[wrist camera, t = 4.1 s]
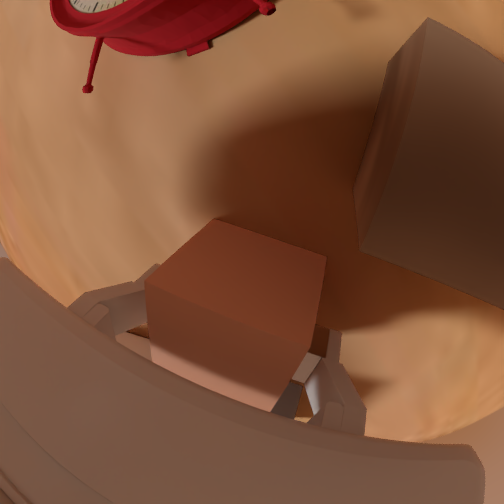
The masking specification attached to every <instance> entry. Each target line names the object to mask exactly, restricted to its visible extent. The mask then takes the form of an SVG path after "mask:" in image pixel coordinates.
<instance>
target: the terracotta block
mask: <svg viewBox="0 0 504 504" xmlns="http://www.w3.org/2000/svg"><path fill="white" fill-rule="evenodd" d="M326 260H327V257H326V256H323V255H320V254H317V253H314V252H311V251H309V250H306V249H303V248H300V247H297V246H294V245H291V244H288V243H285V242H282V241H280V240H277V239H274V238H271V237H268V236H265V235H262V234H259V233H256V232H253V231H250V230H247V229H244V228H241V227H238V226H235V225H232V224H229V223H226V222H223V221H220V220H217V219H213V220H212V221H211V222H209V223H208V224H207V225H206V226H205V227H204V228H202V229H201V230H200V231H199V232H198V233H197V234H195V235H194V236H193V237H192V238H191V239H190V240H189V241H187V242H186V243H185V244H184V245H183V246H182V247H181V248H180V249H178V250H177V251H176V252H175V253H174V254H173V255H172V256H171V257H169V258H168V259H167V260H166V261H165V262H164V263H163V264H162V265H161V266H160V267H158V268H157V269H156V270H155V271H154V272H153V273H152V274H151V275H150V276H149V277H148V278H147V279H145V280H144V286H145V301H146V312H147V323H148V332H149V341H150V349H151V356H152V362H154V363H156V364H157V365H159V366H161V367H163V368H165V369H167V370H169V371H171V372H173V373H175V374H177V375H179V376H181V377H183V378H185V379H188V380H190V381H192V382H194V383H196V384H198V385H201V386H203V387H205V388H208V389H210V390H212V391H215V392H217V393H219V394H222V395H224V396H227V397H229V398H232V399H234V400H237V401H240V402H242V403H245V404H248V405H251V406H253V407H256V408H259V409H262V410H265V411H268V412H270V411H271V410H272V408H273V407H274V405H275V404H276V402H277V401H278V399H279V398H280V396H281V395H282V393H283V391H284V390H285V388H286V387H287V385H288V384H289V382H290V380H291V379H292V377H293V376H294V374H295V372H296V371H297V369H298V367H299V366H300V364H301V362H302V361H303V359H304V357H305V355H306V354H307V352H308V350H309V349H310V346H311V342H312V337H313V332H314V328H315V323H316V318H317V312H318V307H319V302H320V296H321V291H322V285H323V279H324V273H325V267H326Z"/></svg>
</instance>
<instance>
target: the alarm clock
mask: <svg viewBox="0 0 504 504" xmlns="http://www.w3.org/2000/svg"><path fill="white" fill-rule="evenodd" d="M267 1H268V0H50V11H51V16H52V18H53V20H54V22H55V23H56V25H57V26H58V27H60V28H61V29H63V30H65V31H67V32H69V33H71V34H73V35H77V36H91V37H96V41H95V45H94V49H93V52H92V56H91V60H90V68H89V73H88V78H87V83H86V85H85V86H83V89H82V90H83V93H91V92H92V91H93V86H92V85H91V83H92V79H93V74H94V70H95V66H96V63H97V60H98V57H99V53H100V50H101V46H102V43H103V42H104V43H105V44H106V45H108V46H109V47H110V48H112V49H114V50H116V51H119V52H122V53H125V54H131V55H137V56H158V55H165V54H170V53H175V52H178V51H182V50H185V49H186V51H187V56H192V55H194V54H197V53H200V52H203V51H205V50H208V49H210V48H209V47H208V43H207V41H208V40H210V39H212V38H214V37H216V36H218V35H220V34H222V33H223V32H225V31H227V30H229V29H230V28H232V27H234V26H235V25H237V24H238V23H240V22H241V21H243V20H244V19H246V18H247V17H248V16H250V15H251V14H252V13H254V12H255V11H256V10H258V9H259V11H260V12H261V13H262V14H263V15H271V14H273V13H274V12H275V11H276V7H275V5H274V4H273V3H272V2H267Z"/></svg>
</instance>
